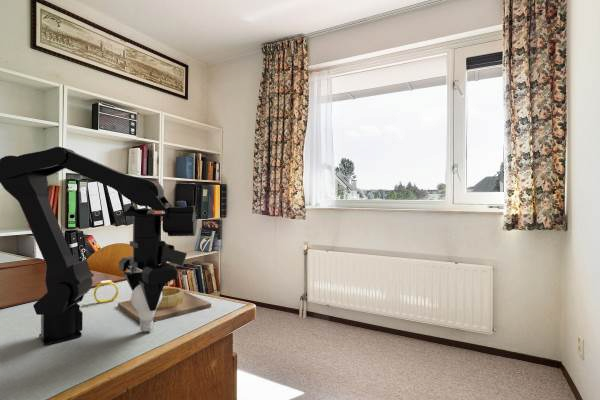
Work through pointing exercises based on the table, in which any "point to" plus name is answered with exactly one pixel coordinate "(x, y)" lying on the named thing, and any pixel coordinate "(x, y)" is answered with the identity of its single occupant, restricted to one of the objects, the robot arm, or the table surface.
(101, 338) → the table surface
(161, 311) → the socket base
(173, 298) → the socket collar
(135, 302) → the lightbulb
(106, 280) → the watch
